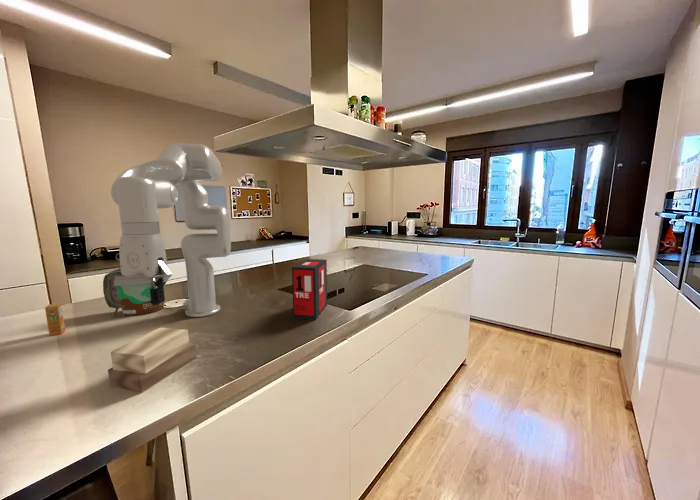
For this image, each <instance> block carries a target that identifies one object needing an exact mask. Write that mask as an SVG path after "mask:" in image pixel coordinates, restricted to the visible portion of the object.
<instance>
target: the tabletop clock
mask: <svg viewBox="0 0 700 500" xmlns="http://www.w3.org/2000/svg"><path fill="white" fill-rule="evenodd" d="M118 256H120V254H119V252H117V253H116V254H115V260H117V261H119V262H120V258H118ZM115 276H124V275H122V273H121V269H120V267H119V268H117V269H114V270H112V271H110V272H108V273H107V274H105V275H104V277H103V282H102V290H103V291H102V292H103V296H104V300H105V302H106V304H107V306H108V308H111V309H115V311H113V312H112V313H111V316H112V317H116V316H117V315H118V313H117V312H118V311H119V310H120V309H122V307H121V303H120V298H119V294H118V289H117V286H114V279H115Z"/></svg>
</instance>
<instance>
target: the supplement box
mask: <svg viewBox="0 0 700 500" xmlns="http://www.w3.org/2000/svg"><path fill="white" fill-rule="evenodd" d="M44 309H45V315H46V317H45V318H46V322H47V328H48V329H47V330H48V335H49V337H51V336H59V335H62V334H64V333H65V331H66V325H65V320H64V314H63V309H62V303H61V302H60V303H51V304H48V305H46V306H45V307H44Z"/></svg>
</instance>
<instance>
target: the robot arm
mask: <svg viewBox="0 0 700 500" xmlns="http://www.w3.org/2000/svg"><path fill="white" fill-rule="evenodd" d="M222 174H223V168H222V165H221V162H220V161H219V159H218V158H217V156H216V155H215V153H214V152H213V150H212V149H211V148H210V147H209V146H206V144H202V143H199V144H198V143H179V142H178V143H171V144H169V145H167V146H166V147H165V149H163V151H162V152H161V153H159V155H158V157H157V158H155V159H152V160H149V161H146V162H143V163H141V164H136V165H134V166H131V167H129V168H127V169H125V170H123V171H122V172H121V173H120V174H119V175H118V176H117V177H116V178H115V180H114V181H113V182H112V184H111V188H110V189H111V190H110V195H111V198H112V200H113V202H114V204H116V205H117V206H118V211H119V217H120V228H121V229H120V230H121V235H120V239H119V249H118V250H119V252H118V253H119V259H120V261H119V268H120V269H121V273H122V275H124V276H137V275H143V277H145V278H152V281H153V282H151V286H152V288H153V289H150V293H151V303H152V305H156V304H159V303H161V302H164V303H165V300H166V299H165V298H166V296H165V287H166V286H167V285H166V284H167V282H168V281H169V279H170V278H171V277H172V276H173V274H172V272H171V271H170V269H169V268H168V259H167V252H166V248H165V244H164V239H163V237H162V235H161V230H160V229H161V228H160V220H159V219H160V218H159V209H169V208H172V207H174V206H175V205H176V204H177V203H178V200H179V191H178V189H177V187H176V186H175V185H179V187H180V189H181V191H182V192H181V193H182V195H183V196H182V197H183V211H184V212H183V214H184V224H185V226H186V228H187V229H190V230H191V231H192V230H194V231H216V232H215V233H206V232H205V233H204V232H203V233H201V232H200V233H189V234H187V235H184V236H183V237H182V239H181V241H180V248H181V252H182V255H183V258H184V263H185V271H186V280H187V281H186V282H187V291H188V293H187V294H188V299H185V300H184V302H183V303H182V306H185V307H187V309H186V310H185V311H184V312H185V315H186V317H191V318H202V317H207V316H211V315H212V316H213V315H214V314H217V313H218V312H220V310H221V306H220V304H217V301H216V300H217V299H216V287H215V274H214V273H215V271H214V266H213V265H212V263H211V262H210V261H209V260H208V259H209V258H210V259H211V258H225V257H228V256H230V254H231V250H232V238H231V237H232V236H231V221H230V220H231V219H230V214H229V213H230V212H229V211H228V209H227V208H226V207H225V206H223V205H209V193H208V191H207V189H206V188H205V186H203V184H202V183H200V182H217V181H219V180H220V179H221V177H222V176H223V175H222ZM207 258H208V259H207ZM157 272H159V274H158V275H156V273H157ZM153 275H154V276H153ZM156 277H160V278H159V279H158V280H157V281H156V280H155V278H156Z"/></svg>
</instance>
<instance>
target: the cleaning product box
mask: <svg viewBox="0 0 700 500" xmlns="http://www.w3.org/2000/svg"><path fill="white" fill-rule="evenodd" d="M327 261H328V260H327V259H319V258H318V259H314V258H312V259H311V258H305V259H303V260H302V261H300V262H298V263H297V264H295V265H293V266H292V267H291V276H292V277H291V281H292V282H291V283H292V284H291V285H292V310H293V311H292V313H293V314H292V315H293V317H292V318H293V320H294V319H295V320H306V319H314V320H313V321H317V320H318V319H319V317H320V316H321V314H322V313H323V312H322V311H324V310H325V309H326V308H325V307H327V306H328V276H327V275H328V269H327V267H328V266H327V265H328V264H327V263H328V262H327ZM324 308H325V309H324ZM321 312H322V313H321ZM319 315H320V316H319ZM318 316H319V317H318ZM316 319H317V320H316Z"/></svg>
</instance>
